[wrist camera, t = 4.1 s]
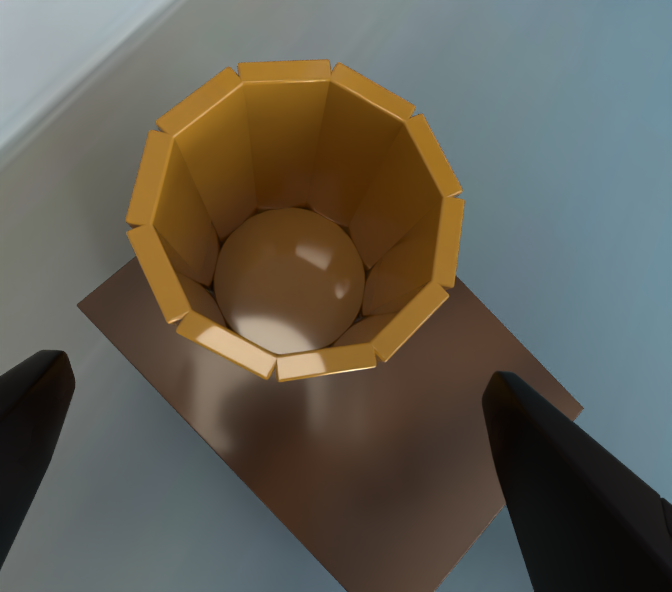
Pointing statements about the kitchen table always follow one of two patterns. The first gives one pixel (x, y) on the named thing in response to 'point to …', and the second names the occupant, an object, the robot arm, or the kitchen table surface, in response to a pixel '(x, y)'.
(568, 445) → the robot arm
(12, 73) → the kitchen table surface
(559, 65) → the kitchen table surface
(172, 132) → the cup
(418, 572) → the brown wooden board
